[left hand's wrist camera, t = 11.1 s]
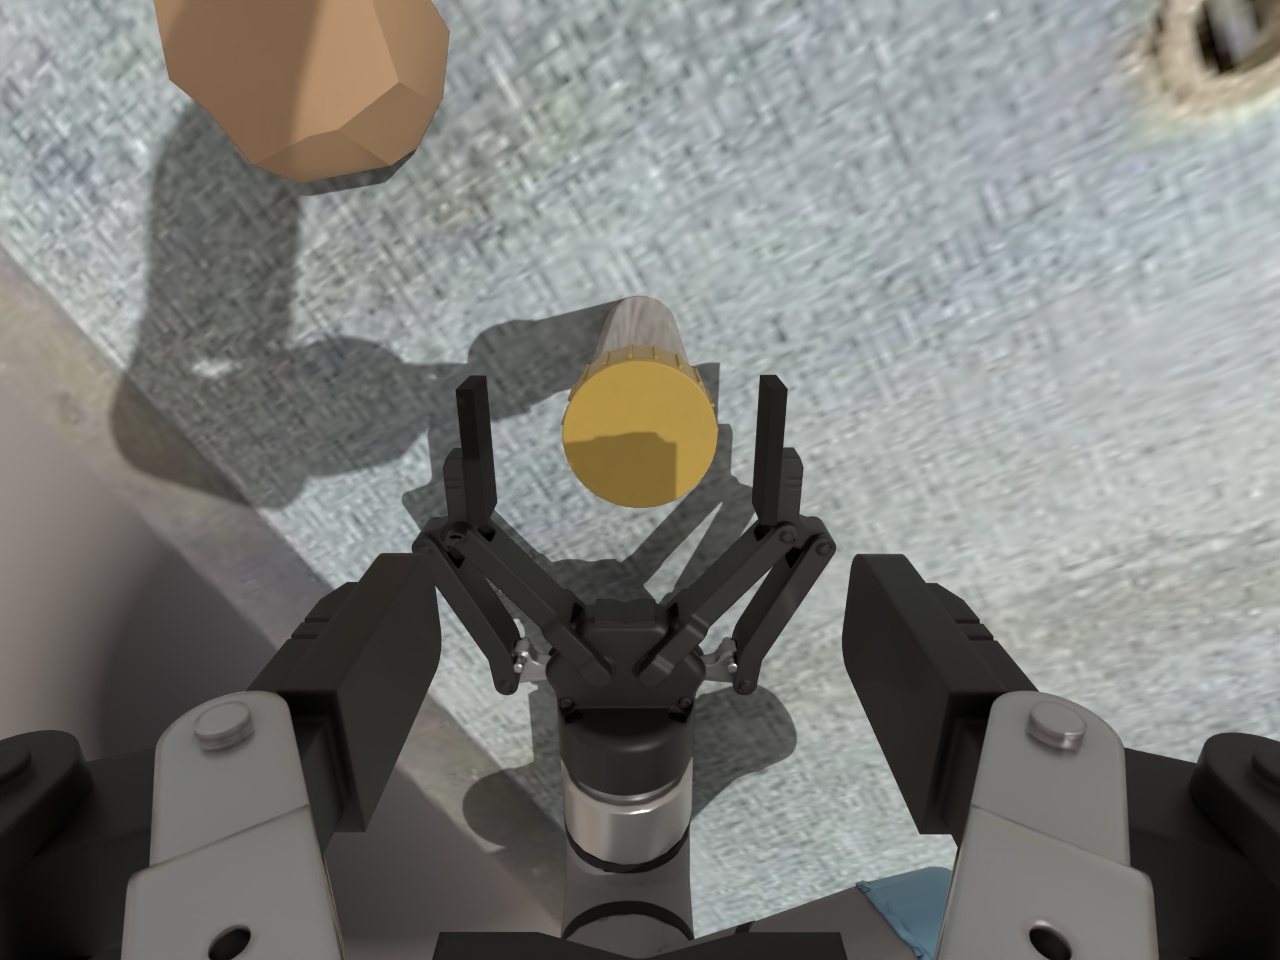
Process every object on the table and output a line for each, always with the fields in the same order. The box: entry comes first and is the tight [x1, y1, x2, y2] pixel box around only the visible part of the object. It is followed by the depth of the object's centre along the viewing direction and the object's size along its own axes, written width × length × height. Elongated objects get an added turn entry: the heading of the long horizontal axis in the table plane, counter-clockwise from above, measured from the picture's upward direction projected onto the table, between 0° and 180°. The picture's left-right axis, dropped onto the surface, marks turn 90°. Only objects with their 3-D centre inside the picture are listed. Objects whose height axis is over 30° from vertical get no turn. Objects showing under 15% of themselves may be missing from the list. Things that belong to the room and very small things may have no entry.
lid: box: [562, 343, 719, 508], centre depth 21 cm, size 5×5×2 cm
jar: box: [591, 296, 689, 364], centre depth 28 cm, size 4×4×17 cm
